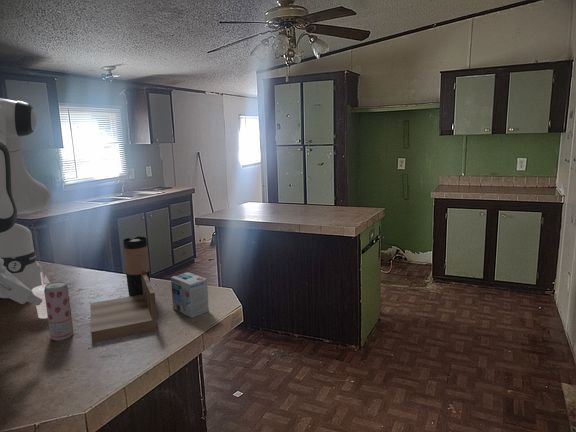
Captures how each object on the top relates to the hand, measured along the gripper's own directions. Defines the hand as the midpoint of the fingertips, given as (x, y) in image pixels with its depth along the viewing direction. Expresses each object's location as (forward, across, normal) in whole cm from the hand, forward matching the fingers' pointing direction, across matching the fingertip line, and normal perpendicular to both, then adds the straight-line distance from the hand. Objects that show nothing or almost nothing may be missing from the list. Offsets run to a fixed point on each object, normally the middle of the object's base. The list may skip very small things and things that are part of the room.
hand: (34, 297), depth 110 cm
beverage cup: (+14, +19, +4) cm, 24 cm away
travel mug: (+34, +13, -15) cm, 39 cm away
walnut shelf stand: (+24, -3, -6) cm, 25 cm away
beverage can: (+13, 0, +6) cm, 14 cm away
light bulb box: (+37, -11, -19) cm, 43 cm away
